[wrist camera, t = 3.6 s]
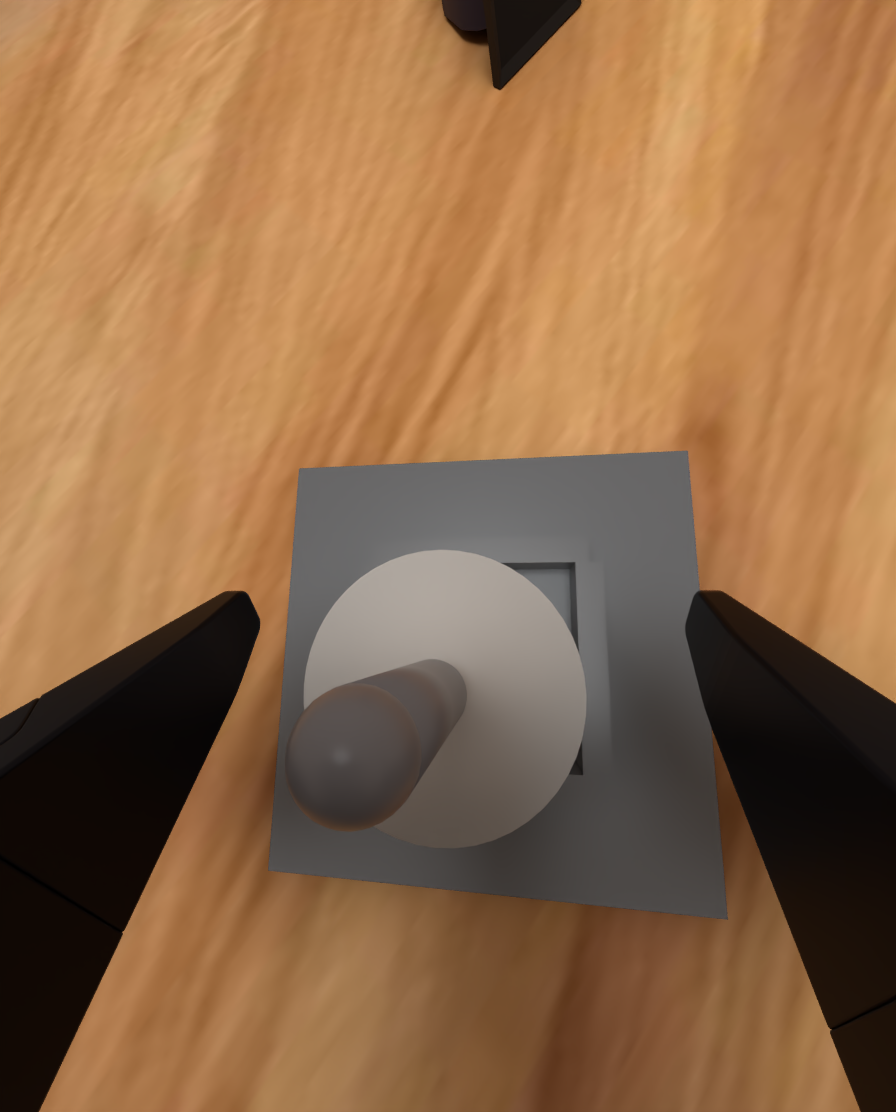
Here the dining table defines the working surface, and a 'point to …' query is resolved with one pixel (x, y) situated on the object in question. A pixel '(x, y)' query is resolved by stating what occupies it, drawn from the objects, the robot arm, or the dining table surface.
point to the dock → (606, 655)
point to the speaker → (510, 28)
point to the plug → (437, 704)
